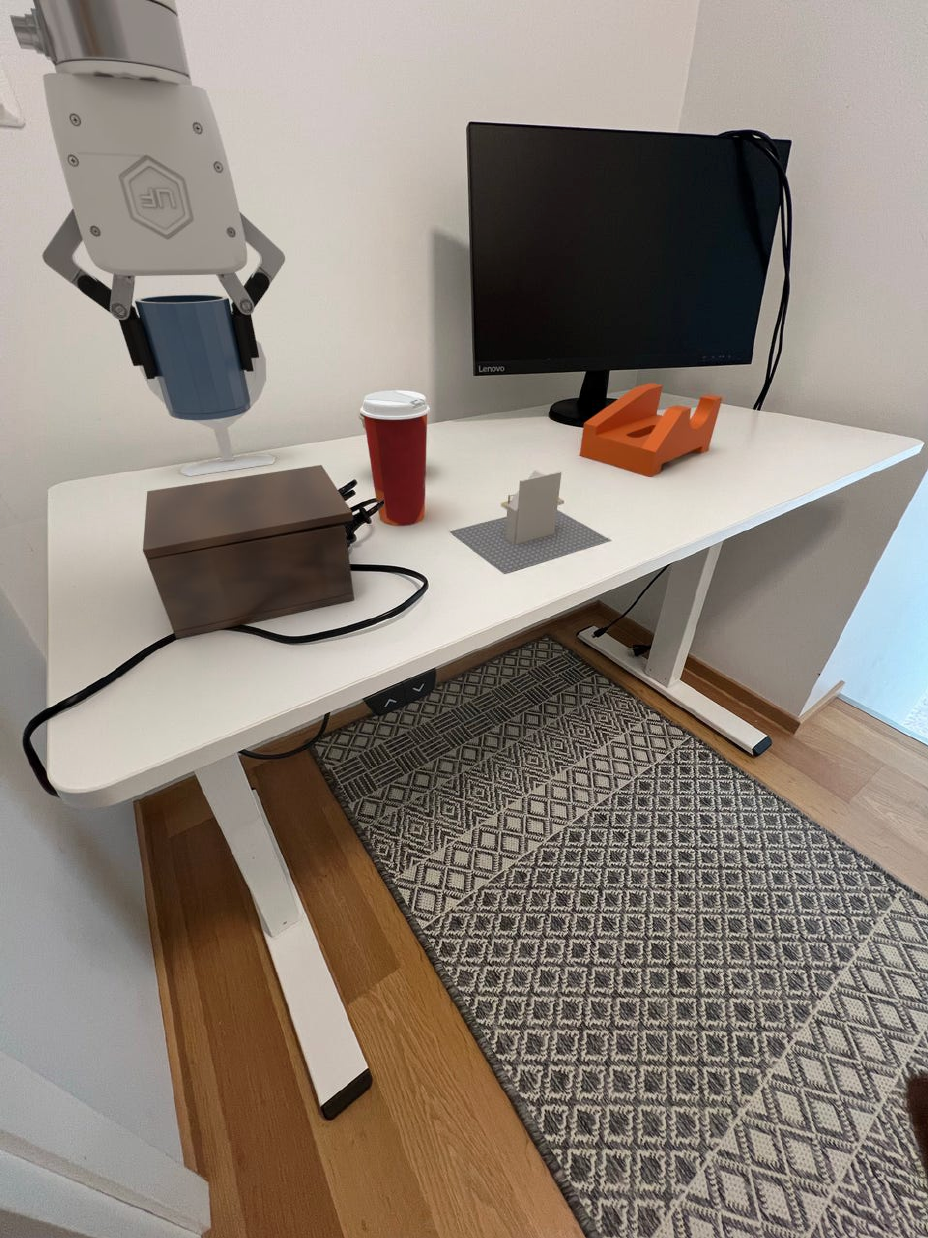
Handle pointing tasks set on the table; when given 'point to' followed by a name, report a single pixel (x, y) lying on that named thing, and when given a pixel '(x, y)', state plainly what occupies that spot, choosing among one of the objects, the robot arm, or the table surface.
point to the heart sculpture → (227, 426)
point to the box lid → (240, 510)
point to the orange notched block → (648, 431)
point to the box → (253, 579)
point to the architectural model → (530, 528)
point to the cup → (195, 355)
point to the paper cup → (397, 452)
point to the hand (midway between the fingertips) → (200, 369)
